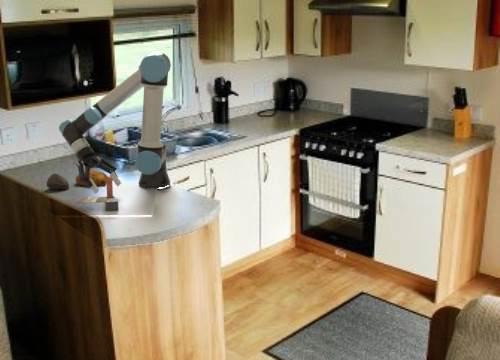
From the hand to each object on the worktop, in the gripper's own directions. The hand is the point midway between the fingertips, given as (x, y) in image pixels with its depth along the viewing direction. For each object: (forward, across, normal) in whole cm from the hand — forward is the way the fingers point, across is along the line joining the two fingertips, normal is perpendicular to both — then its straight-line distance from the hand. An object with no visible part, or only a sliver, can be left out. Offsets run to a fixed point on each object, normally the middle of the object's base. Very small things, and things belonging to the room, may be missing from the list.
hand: (108, 188), depth 274 cm
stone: (-19, 0, -28) cm, 34 cm away
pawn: (+4, 0, -4) cm, 5 cm away
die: (+12, +8, +3) cm, 15 cm away
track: (+1, +3, -8) cm, 8 cm away
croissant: (-14, -15, -24) cm, 31 cm away
